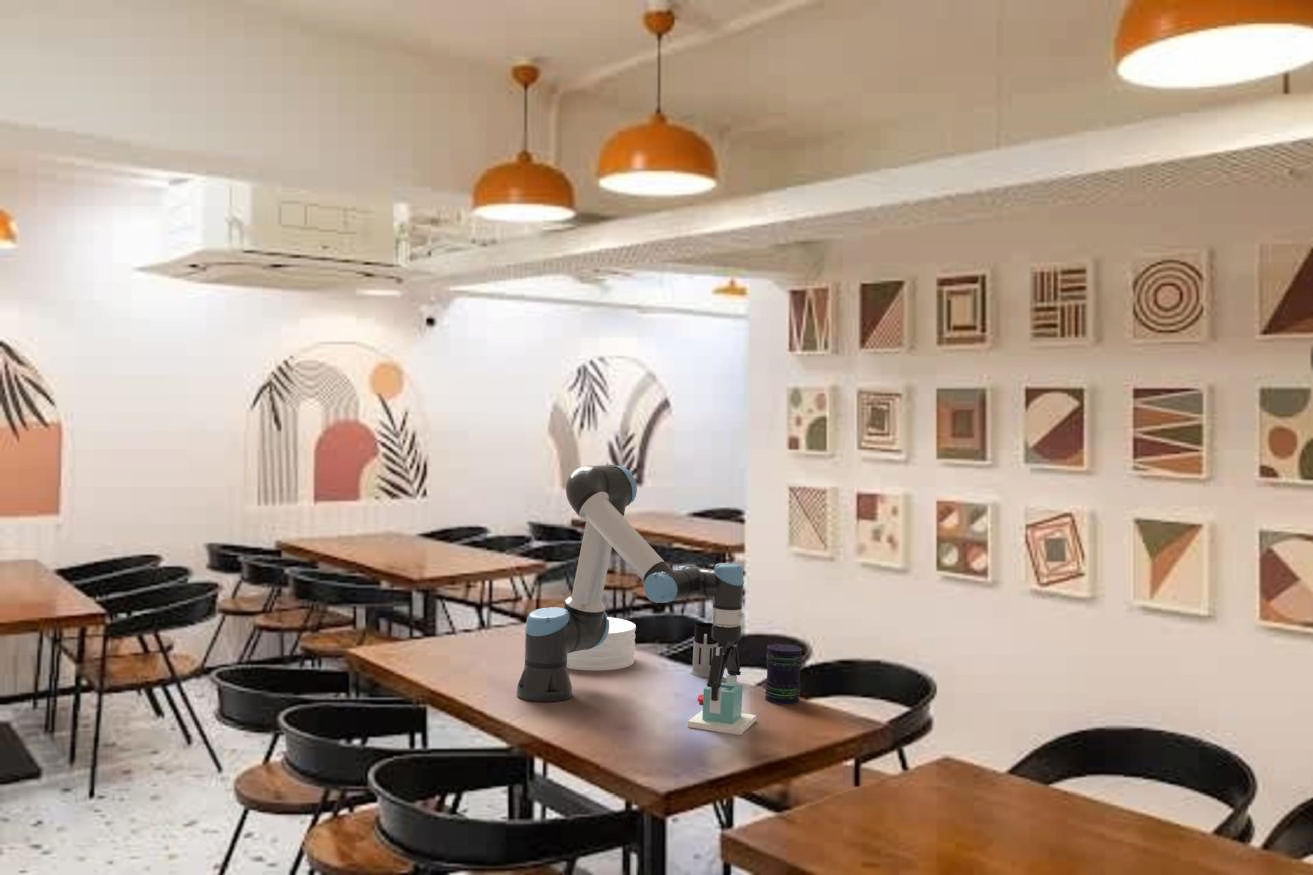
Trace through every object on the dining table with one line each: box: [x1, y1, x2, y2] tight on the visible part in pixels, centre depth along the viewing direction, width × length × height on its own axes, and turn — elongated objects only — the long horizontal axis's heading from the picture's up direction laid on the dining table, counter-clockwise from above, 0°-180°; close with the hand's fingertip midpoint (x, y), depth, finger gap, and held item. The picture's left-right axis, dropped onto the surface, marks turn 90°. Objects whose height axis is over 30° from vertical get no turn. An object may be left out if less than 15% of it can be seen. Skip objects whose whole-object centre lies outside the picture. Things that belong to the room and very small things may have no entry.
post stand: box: [687, 688, 757, 736], centre depth 278 cm, size 14×14×9 cm
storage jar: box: [764, 643, 803, 706], centre depth 304 cm, size 10×10×15 cm
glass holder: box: [690, 622, 718, 678], centre depth 328 cm, size 9×14×15 cm, turn 174°
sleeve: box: [702, 682, 743, 724], centre depth 278 cm, size 8×8×8 cm
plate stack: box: [567, 616, 637, 671], centre depth 342 cm, size 28×28×12 cm
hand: (722, 706), depth 278 cm, fingers open, 13 cm apart
